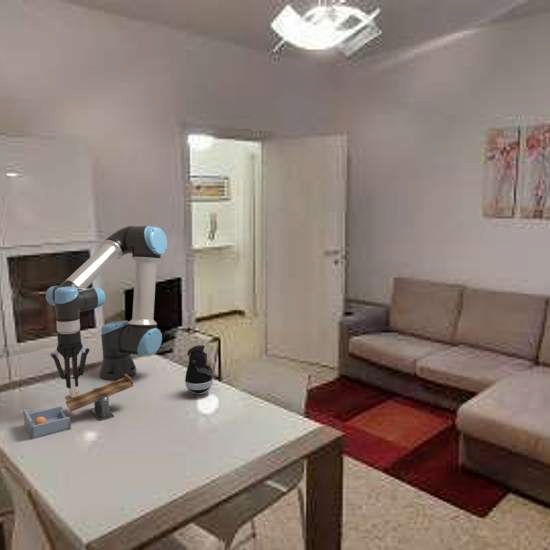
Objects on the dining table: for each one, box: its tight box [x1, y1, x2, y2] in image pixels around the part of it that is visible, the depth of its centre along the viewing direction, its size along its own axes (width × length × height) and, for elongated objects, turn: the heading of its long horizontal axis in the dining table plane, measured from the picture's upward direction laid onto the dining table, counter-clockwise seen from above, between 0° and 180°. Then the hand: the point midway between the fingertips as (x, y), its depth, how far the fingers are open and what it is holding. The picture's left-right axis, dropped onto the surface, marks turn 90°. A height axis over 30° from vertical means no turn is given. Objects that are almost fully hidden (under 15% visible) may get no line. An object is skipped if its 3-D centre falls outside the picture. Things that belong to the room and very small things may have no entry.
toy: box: [184, 344, 214, 395], centre depth 191 cm, size 11×11×20 cm
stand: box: [89, 387, 115, 422], centre depth 175 cm, size 5×11×8 cm, turn 36°
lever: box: [64, 374, 134, 413], centre depth 178 cm, size 22×13×3 cm, turn 126°
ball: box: [35, 417, 46, 425], centre depth 164 cm, size 4×4×4 cm
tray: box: [22, 405, 72, 440], centre depth 165 cm, size 12×12×6 cm
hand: (72, 396), depth 176 cm, fingers closed
